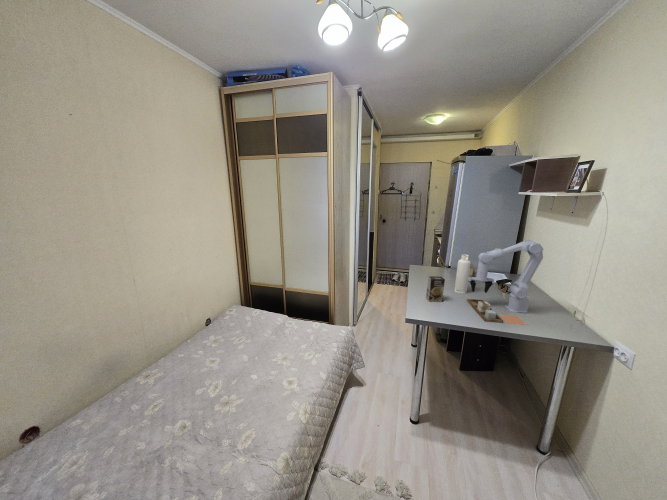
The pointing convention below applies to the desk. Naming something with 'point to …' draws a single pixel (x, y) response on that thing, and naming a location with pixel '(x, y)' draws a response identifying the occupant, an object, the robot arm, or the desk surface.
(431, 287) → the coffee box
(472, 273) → the ceramic cottage
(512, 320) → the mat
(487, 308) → the letter cube
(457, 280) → the bottle
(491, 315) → the blank block
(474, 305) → the organizer
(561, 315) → the desk surface
